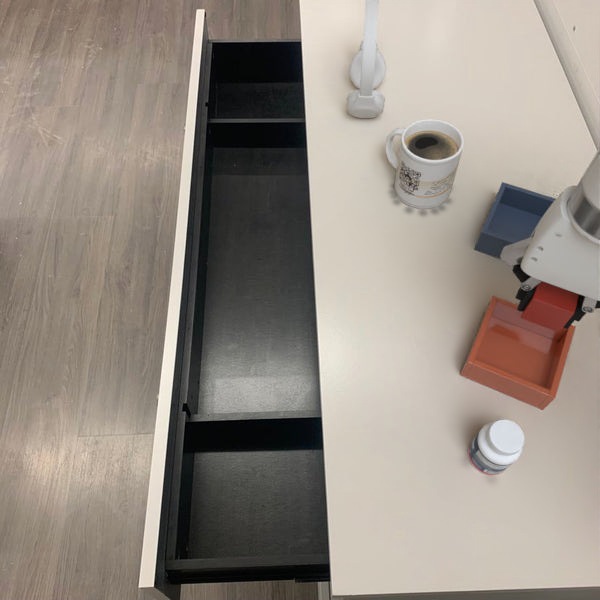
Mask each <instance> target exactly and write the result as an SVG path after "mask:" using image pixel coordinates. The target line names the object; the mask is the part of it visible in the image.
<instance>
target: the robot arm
mask: <svg viewBox="0 0 600 600" xmlns="http://www.w3.org/2000/svg"><path fill="white" fill-rule="evenodd" d="M555 199H556V200H555V201H554V202H553V203H552V204H551V206H550V207H549V208H548V210H547V211H546V212H545V214H544V215H543V217H542V218H541V220H540V221H539V223H538V224H537V226H536V228H535V229H534V231H533V233H532V234H531V236H530V238H527V239H525V240H522V241H519V242H516V243H513V244H511V245H508V246H505V247H504V248H503V250H502V253H501V255H500V258H501V259H500V260H502V261H503V262H504V263H505V264H506V265H507V266H508V267H509V268H511V269H512V273H513V274H514V275H515V277H516V278H517V279H518V281H519V282H520V283H521V284H520V286H519V287H518V289H517V292H516V294H515V297H514V298H515V300H518V301H519V302H518V304H517V305H518V308H517V310H518V311H520V312H522V311H524V309H525V308H526V306H527V305H528V303H529V301H530V300H531V298H532V297H533V295H534V292H535V289H536V286H537V285H538V284H539V283H541V282H542V281H544V282H546V283H549V284H552V285H554V286H557V287H560V288H563V289H566V290H569V291H571V292H574V293H577V294H580V295H579V299H578V302H577V306H576V309H575V313H574V314H573V316H572V317H571V318H570V319H569V321H568V322H567V323H566V324H565V326H564V327H563V328H566V329H568V328H569V327H570V325H573V324H574V322H577V323H578V322H581V320H582V319H583V317H584V316H585V315H586V314H592V313H594V312H595V309H600V146H599V147H598V149H597V151H596V153H595V154H594V155H593V158H592V160H591V161H590V163H589V164H588V167H587V168H586V170H585V172H584V173H583V175H582V177H581V178H580V180H579V182H578V184H577V185H571V186H568V187H567V188H565V189H564V190H563V191H562V192H561V193H560V194H559V195H558V196H557V197H556V198H555Z"/></svg>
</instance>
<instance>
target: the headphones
mask: <svg viewBox="0 0 600 600" xmlns="http://www.w3.org/2000/svg"><path fill="white" fill-rule="evenodd" d="M379 2H380V0H365V10H364V24H363V38H362V40H361V43H360V44H359V45H360V46H359V48H358V51H357V52H356V53H355V54H354V56H353V57H352V59H351V62H350V65H349V77H350V80H351V82H352V84H353V85H354V86H355V87H356V88H358V89H355V90H352V91H351V92H349V93H348V94H347V96H346V112H347V113H348V114H349V115H351V116H353V117H356V118H358V119H373V118H375V117H379V116H381V115H382V114H383V113H384V108H385V102H386V97H385V95H384V93H382V92H380V90H376V88H378V87H379V86H380V85H381V84H382V83H383V81H384V79H385V77H386V73H387V65H386V60H385V58H384V56H383V54H382V53H381V51H379V46H378V42H377V37H378V21H379V4H380V3H379Z"/></svg>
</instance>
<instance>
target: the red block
mask: <svg viewBox="0 0 600 600" xmlns="http://www.w3.org/2000/svg"><path fill="white" fill-rule="evenodd" d="M579 295H580V294H577V293H574V292H571V291H569V290H566V289H563V288H560V287H557V286H554V285H552V284H549V283H546V282H544V281H542V282H541V283H539V284H538V285H537V286H536V289H535V292H534V295H533V297H532V298H531V300H530V301H529V303H528V305H527V306H526V308H525V309H524V311H523V312H522V315H521V318H522V319H524V320H527V321H530V322H532V323H535V324H538V325H540V326H543V327H546V328H548V329H551V330H554V331H556V332H560V330H561V329H562V328H563V327H564V326H565V324H566V323H567V322H568V321H569V319H570V318H571V317H572V316H573V314H574V313H575V309H576V306H577V302H578V299H579Z"/></svg>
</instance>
